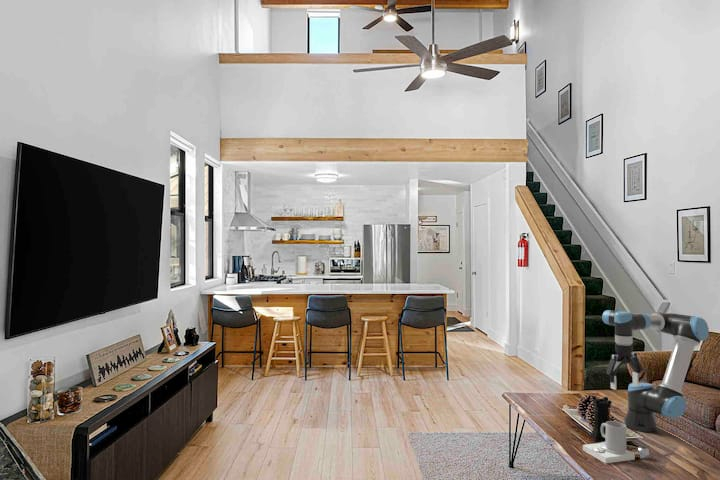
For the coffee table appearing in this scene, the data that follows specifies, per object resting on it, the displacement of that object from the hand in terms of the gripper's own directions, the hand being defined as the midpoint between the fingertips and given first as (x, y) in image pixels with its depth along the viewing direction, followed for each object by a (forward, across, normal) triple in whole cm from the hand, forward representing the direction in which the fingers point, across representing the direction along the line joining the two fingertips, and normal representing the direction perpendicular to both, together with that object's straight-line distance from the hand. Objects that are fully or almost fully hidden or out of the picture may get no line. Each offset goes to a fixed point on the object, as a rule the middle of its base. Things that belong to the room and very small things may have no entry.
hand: (624, 387), depth 231 cm
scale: (+27, +18, +7) cm, 33 cm away
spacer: (+28, +4, +14) cm, 31 cm away
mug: (+24, +16, +7) cm, 29 cm away
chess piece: (+28, +7, -9) cm, 30 cm away
